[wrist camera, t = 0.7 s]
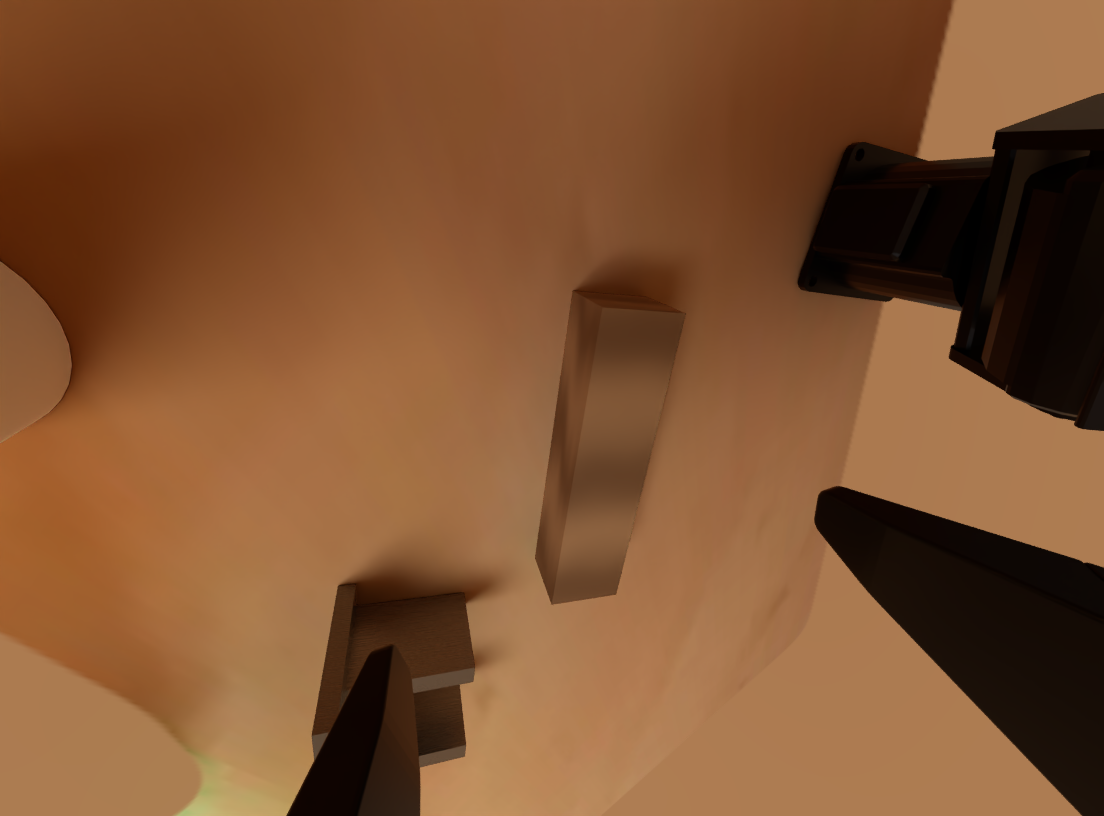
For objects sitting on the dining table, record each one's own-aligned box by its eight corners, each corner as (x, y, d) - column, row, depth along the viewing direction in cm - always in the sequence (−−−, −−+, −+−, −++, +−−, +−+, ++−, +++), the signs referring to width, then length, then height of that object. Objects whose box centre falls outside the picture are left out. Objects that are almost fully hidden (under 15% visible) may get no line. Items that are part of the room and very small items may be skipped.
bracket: (465, 572, 24) (486, 700, 18) (455, 692, 28) (468, 830, 22) (338, 585, 22) (311, 735, 16) (345, 713, 26) (327, 872, 20)
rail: (570, 289, 19) (602, 307, 16) (643, 295, 20) (685, 313, 17) (533, 554, 25) (551, 604, 22) (591, 547, 26) (616, 594, 23)
